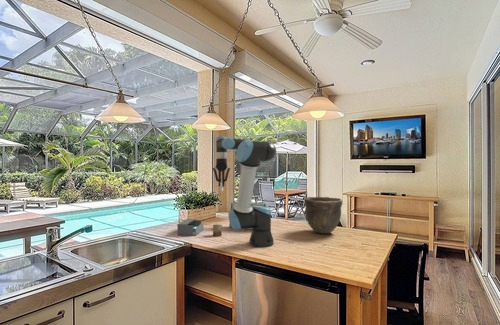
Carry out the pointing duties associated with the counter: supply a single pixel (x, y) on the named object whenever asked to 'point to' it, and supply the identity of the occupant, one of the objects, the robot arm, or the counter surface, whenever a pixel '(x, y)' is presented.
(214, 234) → the post
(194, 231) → the tray
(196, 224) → the box
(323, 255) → the counter surface
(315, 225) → the clay pot
